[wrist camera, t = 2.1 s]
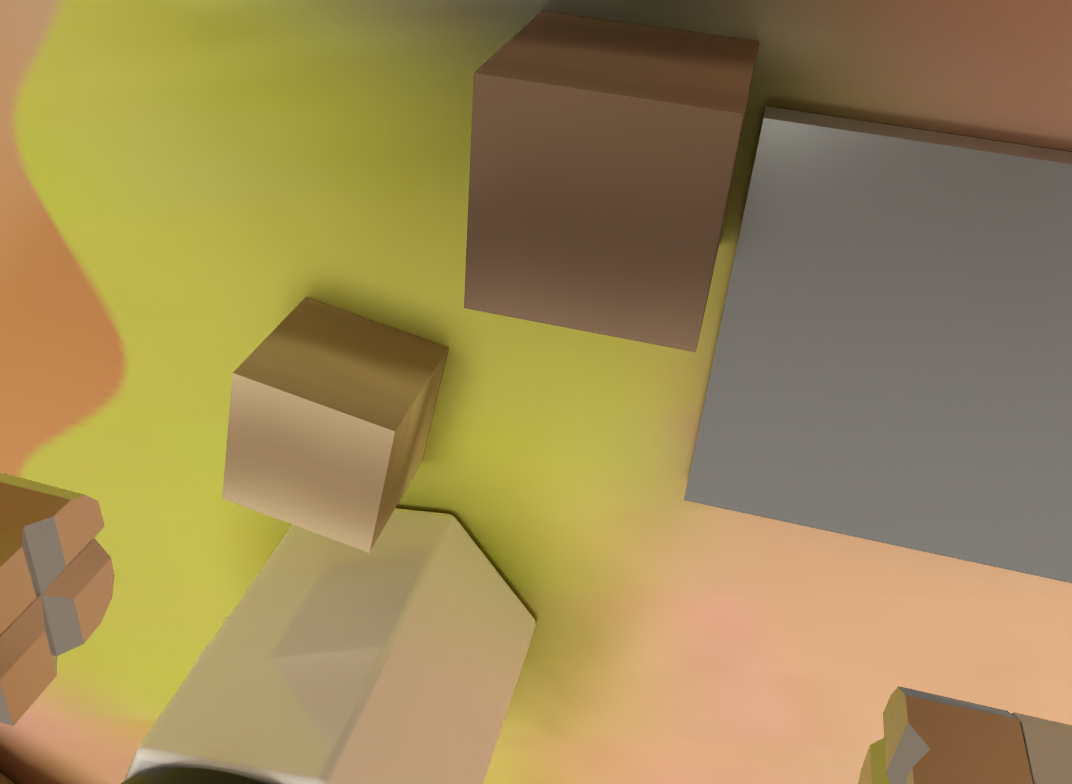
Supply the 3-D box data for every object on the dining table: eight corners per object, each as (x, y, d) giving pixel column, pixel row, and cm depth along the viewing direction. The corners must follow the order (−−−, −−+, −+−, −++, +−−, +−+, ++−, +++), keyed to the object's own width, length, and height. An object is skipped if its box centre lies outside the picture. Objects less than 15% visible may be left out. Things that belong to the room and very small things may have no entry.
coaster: (765, 106, 21) (764, 117, 20) (1290, 184, 19) (1307, 199, 18) (687, 481, 26) (683, 499, 25) (1088, 566, 25) (1095, 587, 24)
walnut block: (543, 10, 21) (474, 73, 17) (759, 40, 20) (742, 113, 16) (527, 210, 23) (463, 307, 19) (719, 243, 22) (695, 352, 18)
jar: (328, 442, 28) (67, 803, 19) (575, 577, 29) (447, 998, 19) (247, 618, 34) (9, 975, 24) (458, 730, 34) (309, 1125, 24)
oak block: (307, 295, 26) (233, 372, 23) (449, 345, 26) (395, 431, 23) (291, 412, 28) (221, 498, 25) (422, 460, 28) (369, 552, 25)
